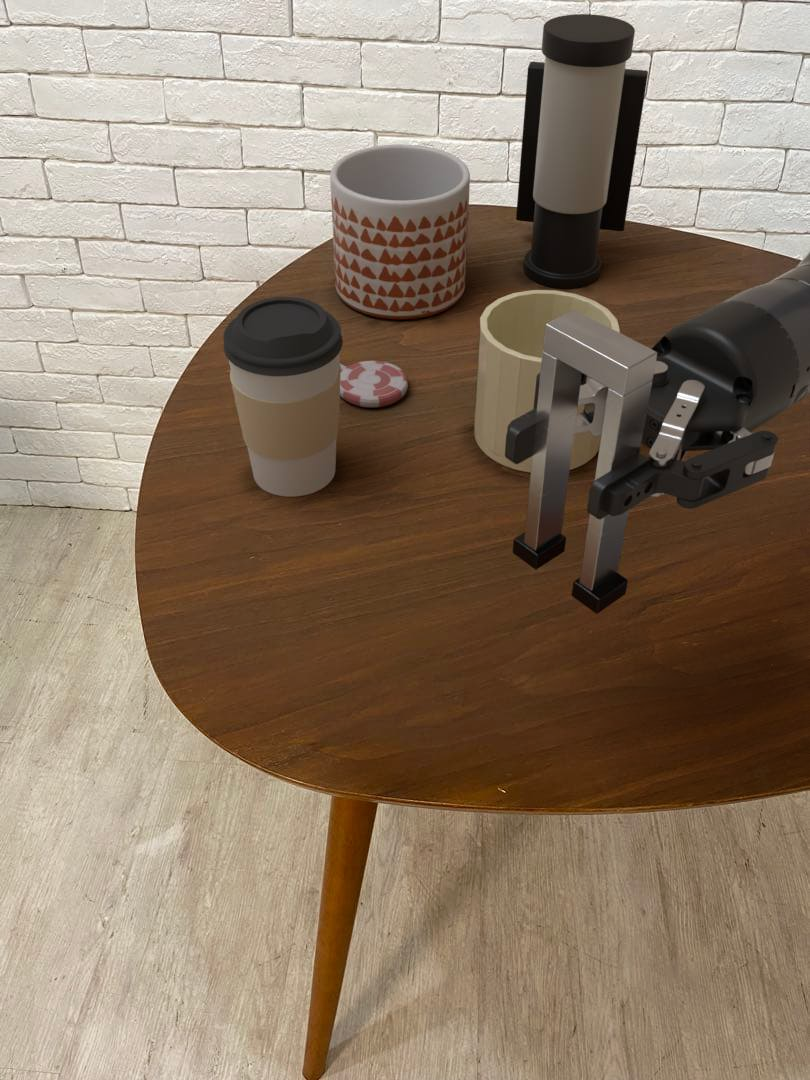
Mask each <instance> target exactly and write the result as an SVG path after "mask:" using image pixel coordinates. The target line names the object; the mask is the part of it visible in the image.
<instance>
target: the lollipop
mask: <svg viewBox="0 0 810 1080" xmlns="http://www.w3.org/2000/svg"><path fill="white" fill-rule="evenodd" d="M339 364H340V367H341V376H340V397H341V399H344V400H345V401H346V402H347V403H350V404H351V405H354V406H357V407H361V408H382V407H385V406H386V407H387V406H389V405H393V404H394V403H396V402H398V401H400V400H401V399H402V398H403V397H404V396H405V395H406V393H407V390H408V388H409V380H408V376H407V375H406V373H405V371H404V370H403V369H401V368H400V367H399V366H397V365H396V364H394V363H390V362H387V361H382V360H363V361H359V362H355V363H353V364H350V365H348V366H346V365H343V364H342V363H340V362H339Z"/></svg>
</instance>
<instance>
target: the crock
mask: <svg viewBox="0 0 810 1080" xmlns="http://www.w3.org/2000/svg"><path fill="white" fill-rule="evenodd" d="M573 310H577V311H578V312H580V313H582V314H584V315H586V316H588V317H590V318H592V319H594V320H596V321H598V322H600V323H602V324H604V325H605V326H607V327H609V328H611V329H613V330H615V331H617V332H619V333H621V330H620V325H619V321H618V319H617V317H616V316H615V315H614V314H613V313H612V312H611V311H610V309H608V308H607V307H605V306H604V305H602V304H601V303H599V302H597V301H596V300H593V299H591V298H588V297H585V296H583V295H580V294H578V293H574V292H567V291H562V290H555V289H531V290H524V291H518V292H513V293H510V294H507V295H505V296H502V297H499V298H497V299H496V300H495V301H492V303H490V304H488V305H487V306H486V307H485V309H484V311H483V312H482V314H481V315H480V317H479V329H478V343H477V344H478V347H477V362H476V363H477V364H476V380H475V396H474V397H475V398H474V415H473V422H474V423H473V436H474V439H475V442H476V444H477V446H478V447H479V448H480V451H482V452H483V454H485V455H486V456H487V457H489V458H490V459H491V460H493V461H494V462H496V463H498V464H499V465H502V466H503V467H505V468H509V469H512V470H515V471H519V472H525V473H530V474H531V464H532V457H530V458H528V459H526V460H525V461H523V462H521V463H519V464H515V463H513V462H512V461H510V460H509V459H507V458H506V457H505V445H506V434H507V429H508V425H509V424H510V422H511V421H512V420H514V419H516V418H518V417H520V416H522V415H525V414H526V413H527V412H529V411H531V410H533V408H534V398H535V388H536V377H537V375H538V374H539V373H540V371H541V361H542V352H543V343H544V333H545V325H546V323H548V322H551V321H553V320H555V319H557V318H559V317H561V316H563V315H565V314H567V313H569V312H571V311H573ZM584 406H585V405H580V406H578V408H577V414H579V413H581V412H582V411H583V410H584ZM600 440H601V436H598V437H594V436H592V435H591V434H590V432H584V433H579V434H574V439H573V447H572V455H571V462H570V470H569V471H571V470H574V469H577V468H580V467H581V466H583V465H585V464H587V463H588V462H589V461H591V460H592V459H593V458H594V457H595V456H596V455H597V453H599V446H600Z"/></svg>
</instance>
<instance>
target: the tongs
mask: <svg viewBox="0 0 810 1080" xmlns="http://www.w3.org/2000/svg"><path fill="white" fill-rule="evenodd" d="M656 358H657V352H655V351H654V350H652V348H650V347H648V346H646V345H644V344H642V343H641V342H638V341H636V340H634V339H632V338H630V337H628V336H627V335H624V334H623V333H621V332H620V333H619V332H617V331H615V330H613V329H611V328H609V327H607V326H605V325H604V324H602V323H600V322H598V321H596V320H594V319H592V318H590V317H588V316H586V315H584V314H582V313H580V312H578V311H577V310H573V311H571V312H569V313H567V314H565V315H563V316H561V317H559V318H557V319H555V320H553V321H551V322H548V323H546V325H545V333H544V343H543V352H542V361H541V371H540V382H539V392H538V402H537V413H536V424H535V435H534V445H533V455H532V464H531V473H530V475H529V485H528V496H527V506H526V507H527V508H526V517H525V527H524V532H522V533H520V534H519V535H517V536H516V537H514V538H513V543H512V554H513V555H514V556H516V557H517V558H518V559H520V560H522V561H523V562H524V563H526V564H527V565H528V566H530V567H531V568H533V569H534V570H535V571H537V570H538V569H540V568H541V567H543V566H544V565H545V564H548V563H549V562H551V561H552V560H554V559H556V558H557V557H558V556H560V555H561V554H563V553H564V552H565V551H566V543H567V537H566V536H565V535H564V534H562V532H563V525H564V516H565V515H564V514H565V507H566V501H567V493H568V486H569V485H568V484H569V478H570V471H571V470H570V462H571V455H572V447H573V439H574V431H575V423H576V416H577V408H578V400H579V392H580V384H581V377H582V373H583V374H585V375H587V376H588V377H590V378H592V379H594V380H596V381H597V382H599V383H601V384H603V385H604V386H606V387H608V388H609V389H608V393H607V400H606V406H605V413H604V420H603V426H602V433H601V440H600V446H599V450H598V452H597V453H598V455H597V461H596V466H595V467H596V468H595V474H594V481H595V480H597V479H598V478H600V477H601V476H603V475H605V474H606V473H608V472H609V471H611V470H614V469H615V468H617V467H619V466H620V465H622V464H624V463H625V462H627V461H628V460H630V459H632V458H633V457H635V456H637V455H638V454H641V453H640V452H641V448H642V443H641V442H642V436H643V431H644V425H645V420H646V414H647V409H648V403H649V398H650V392H651V387H652V379H653V375H654V369H655V364H656ZM594 481H593V482H594ZM629 511H630V509H629V510H628V511H626V512H624V513H623V514H621V515H616V516H611V515H607V516H605V517H604V518H602V519H597V518H596V517H594V516H593V515H591V514H590V513H588V521H587V526H586V527H587V528H586V533H585V534H586V535H585V540H584V547H583V554H582V560H581V568H580V573H579V576H578V578H576V579H575V580H573V583H572V589H571V597H572V598H574V599H575V600H576V601H578V602H579V603H580V604H582V605H584V606H585V607H586V608H587V609H589V610H590V611H592V612H593V613H594V614H595V615H599V613H601V612H603V610H604V611H605V609H607V608H608V607H609V606H612V604H614V603H615V602H617V601H618V600H620V599H621V598H622V597H624V596H625V595H626V592H627V589H628V583H629V579H628V578H626V577H625V576H623V575H622V574H621V573H618V572H619V566H620V562H621V556H622V551H623V546H624V545H623V544H624V539H625V535H626V528H627V523H628V517H629V513H630V512H629Z"/></svg>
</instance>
